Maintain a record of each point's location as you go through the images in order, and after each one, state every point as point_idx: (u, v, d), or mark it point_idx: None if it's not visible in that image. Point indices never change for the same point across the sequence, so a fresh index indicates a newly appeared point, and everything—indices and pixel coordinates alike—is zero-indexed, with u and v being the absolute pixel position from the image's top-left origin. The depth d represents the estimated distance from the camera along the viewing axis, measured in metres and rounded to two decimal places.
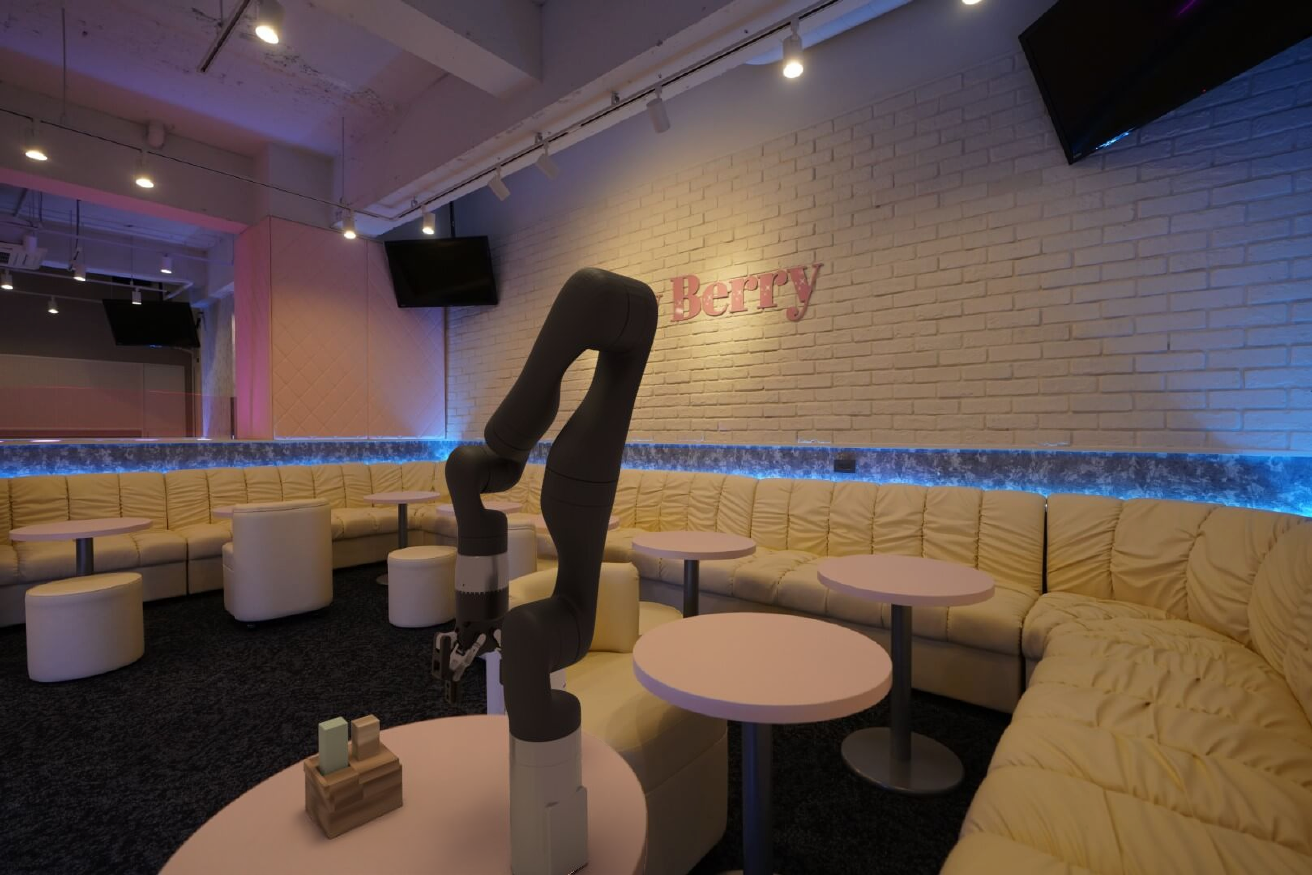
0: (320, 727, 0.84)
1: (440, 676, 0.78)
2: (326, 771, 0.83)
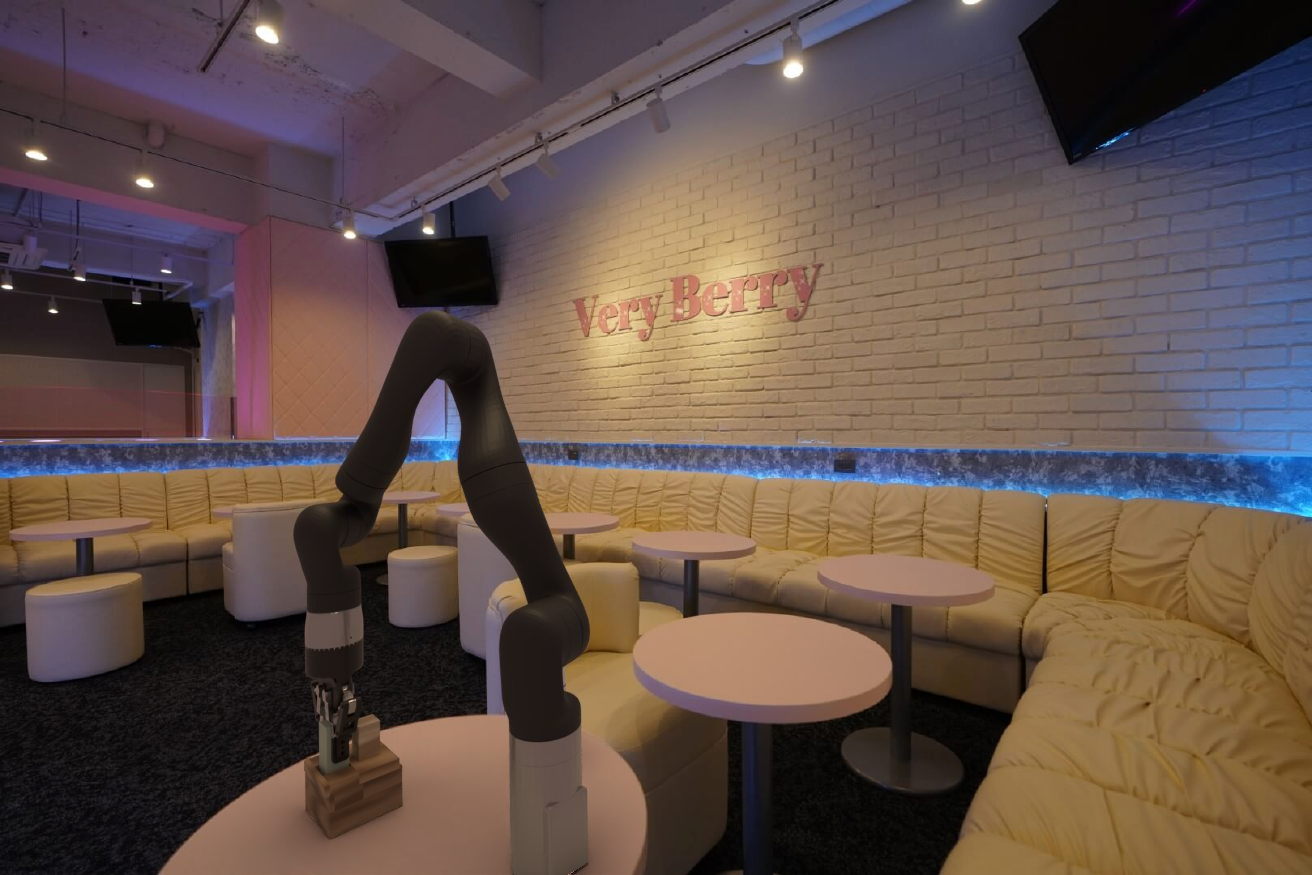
0: (320, 725, 0.84)
1: (355, 730, 0.83)
2: (327, 769, 0.83)
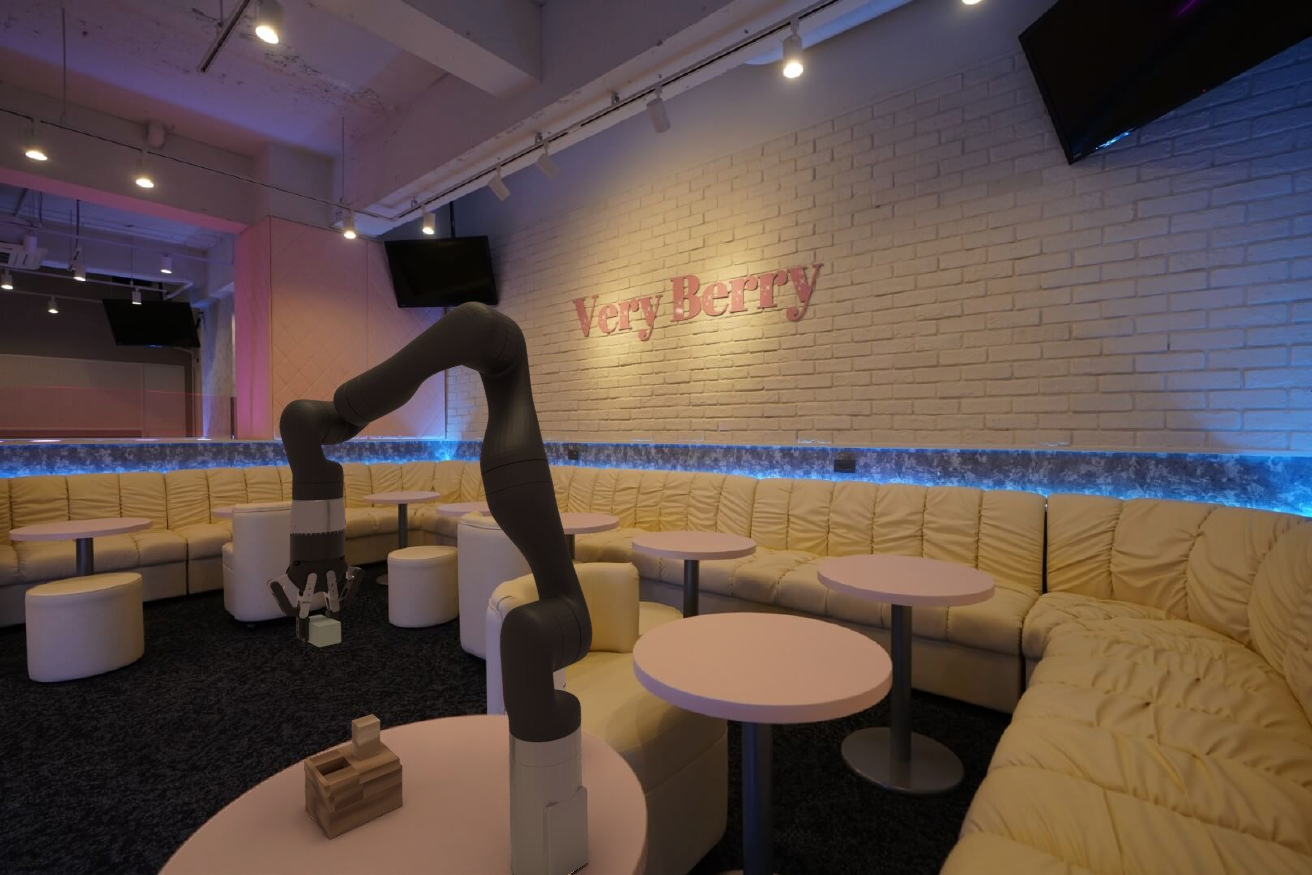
0: None
1: None
2: None
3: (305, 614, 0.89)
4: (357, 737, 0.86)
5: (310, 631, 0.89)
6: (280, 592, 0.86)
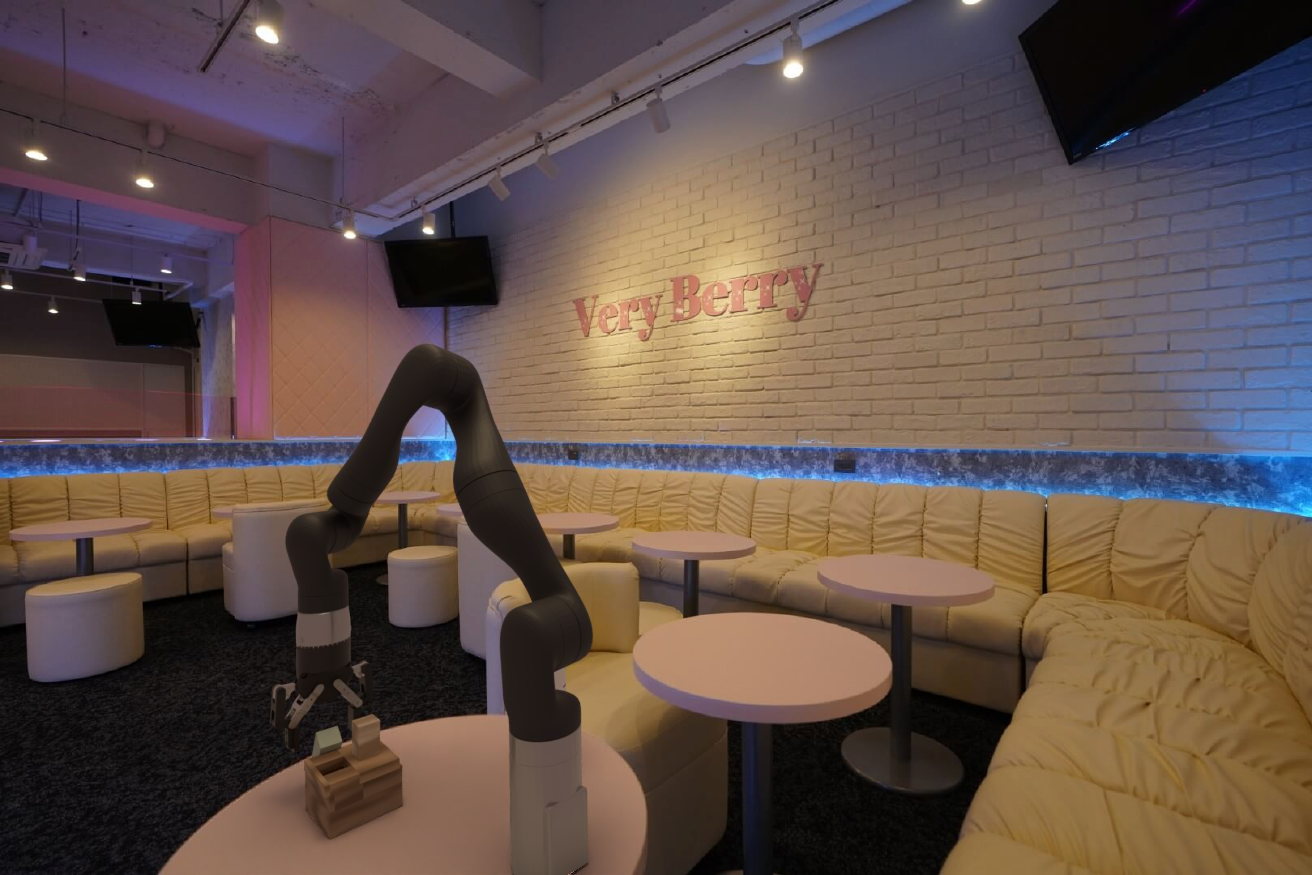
0: None
1: None
2: None
3: (294, 725, 0.88)
4: (357, 737, 0.86)
5: None
6: (282, 700, 0.87)
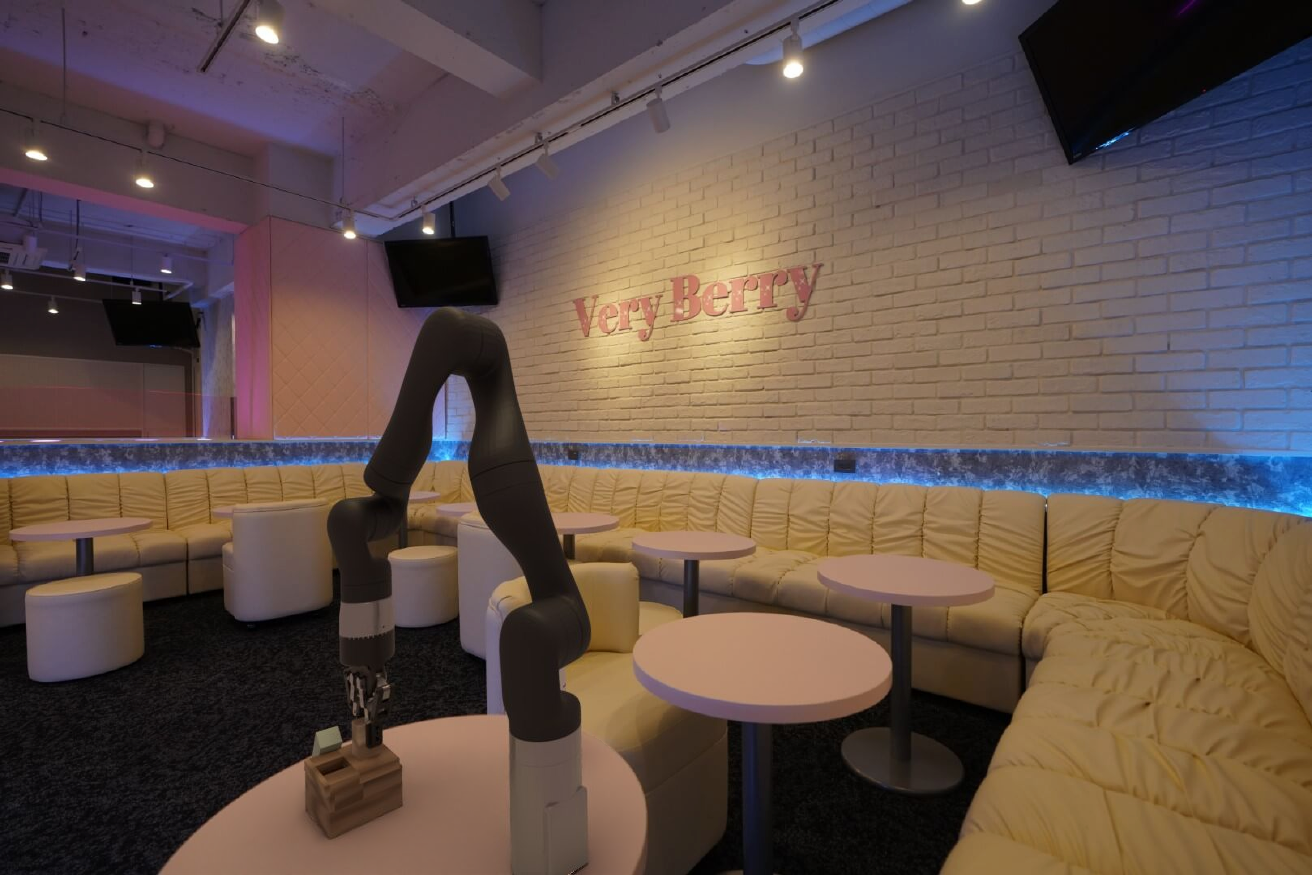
0: None
1: (389, 716, 0.86)
2: None
3: (354, 712, 0.89)
4: (357, 737, 0.86)
5: None
6: (346, 681, 0.91)
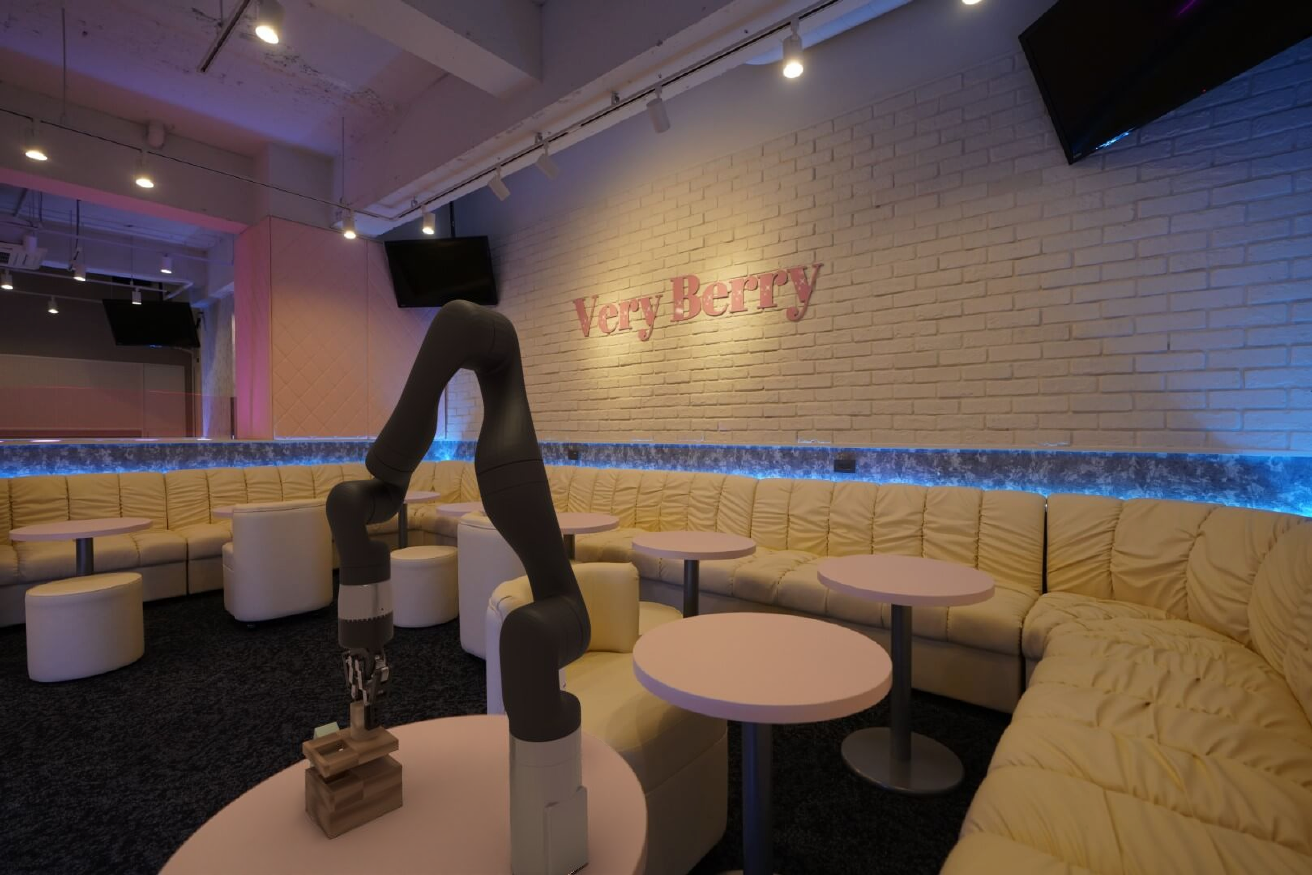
0: None
1: (387, 698, 0.86)
2: None
3: (352, 695, 0.89)
4: (356, 719, 0.86)
5: None
6: (345, 663, 0.91)
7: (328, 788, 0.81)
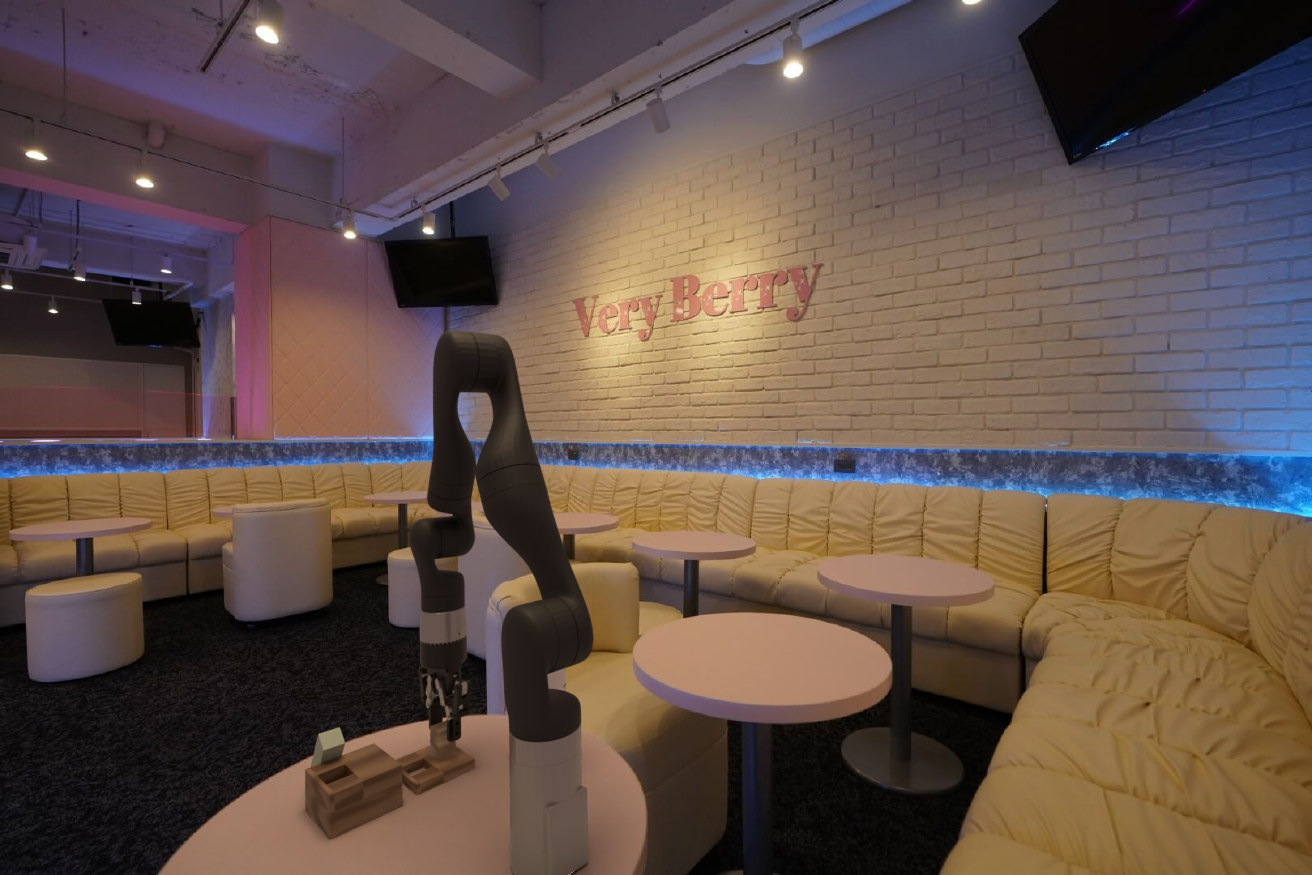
0: None
1: (468, 712, 0.96)
2: None
3: (427, 705, 1.00)
4: (437, 741, 0.97)
5: (316, 758, 0.90)
6: (421, 677, 1.02)
7: (328, 788, 0.81)
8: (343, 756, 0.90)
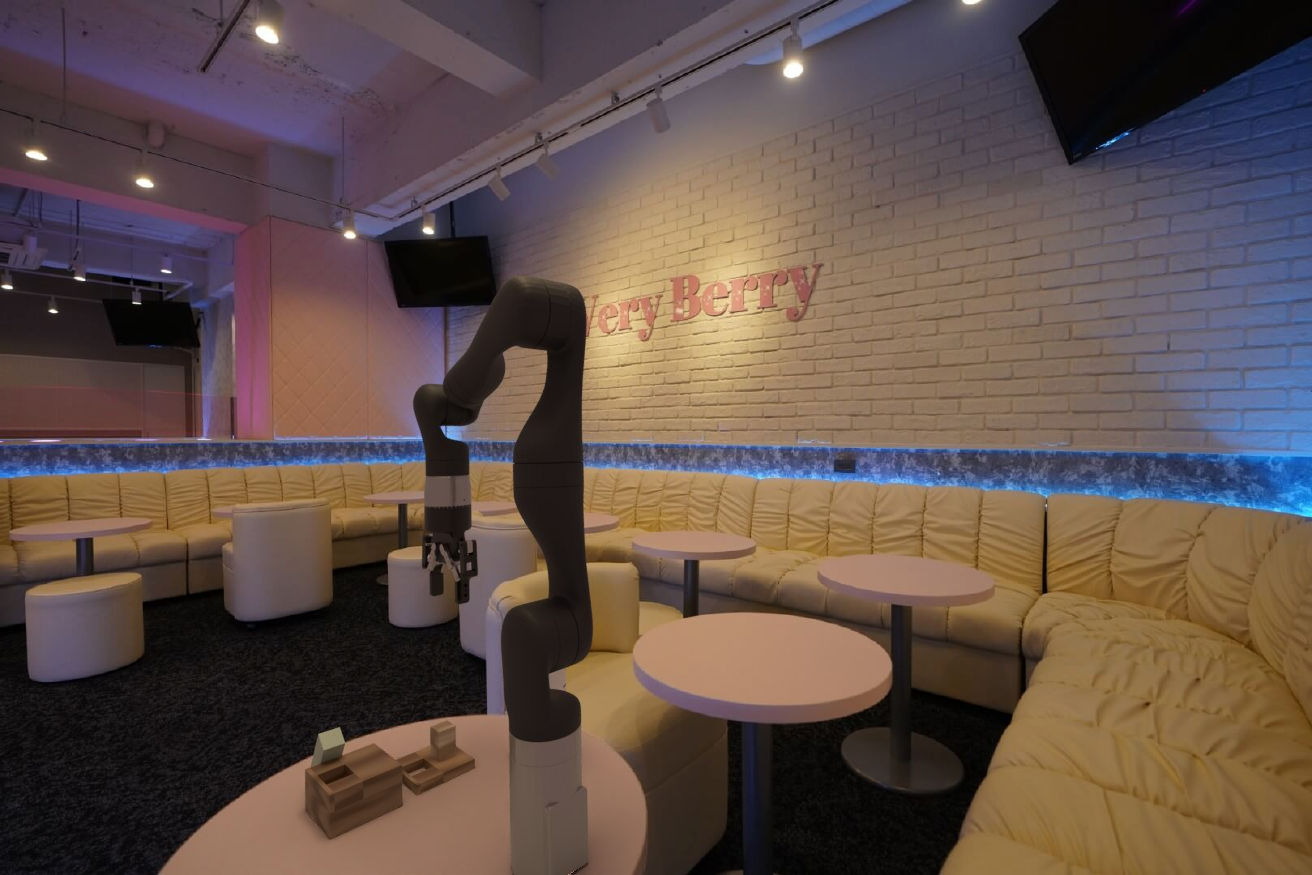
0: None
1: (477, 572, 0.94)
2: None
3: (428, 571, 1.00)
4: (437, 741, 0.97)
5: (316, 758, 0.90)
6: (424, 545, 1.01)
7: (328, 788, 0.81)
8: (343, 756, 0.90)
